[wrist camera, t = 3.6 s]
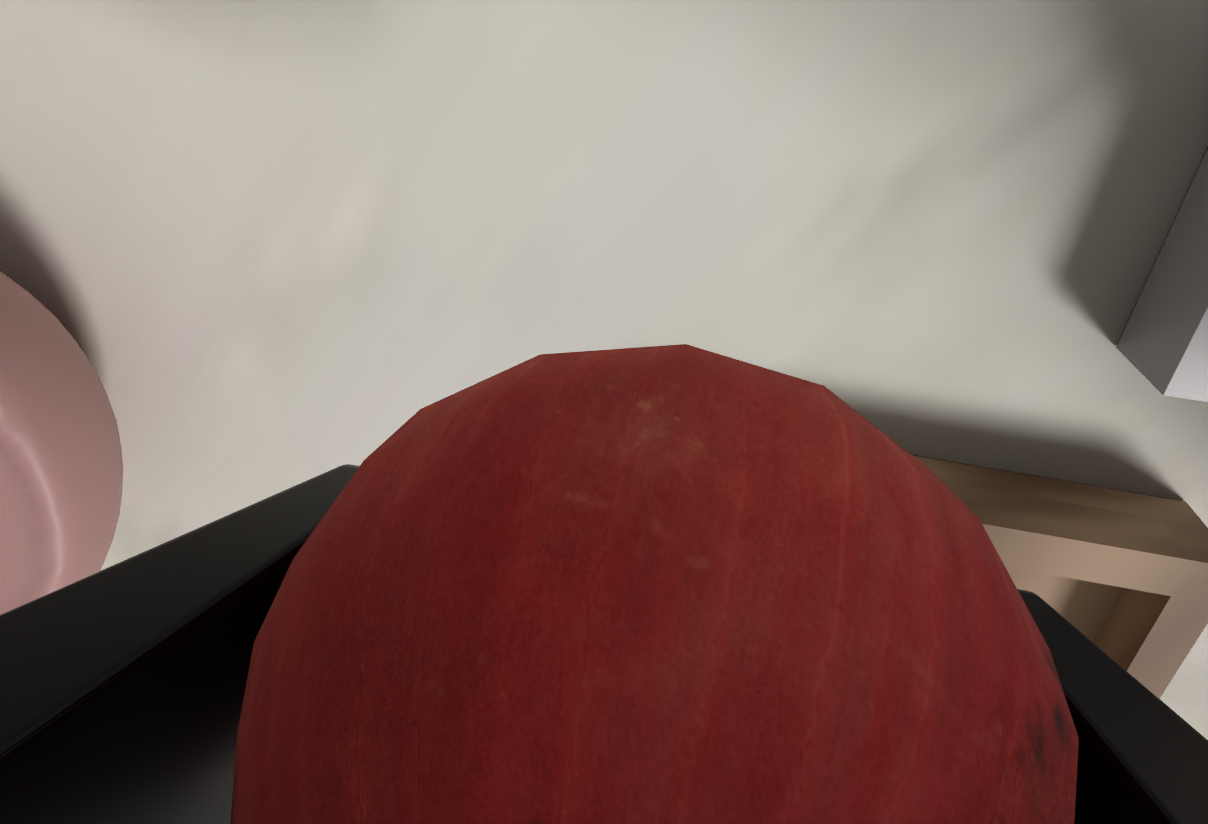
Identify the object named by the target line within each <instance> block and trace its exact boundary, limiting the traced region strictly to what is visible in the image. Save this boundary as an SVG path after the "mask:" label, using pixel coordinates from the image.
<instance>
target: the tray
mask: <svg viewBox="0 0 1208 824" xmlns="http://www.w3.org/2000/svg"><path fill="white" fill-rule="evenodd" d="M912 456H913V455H912ZM913 457H915V458H916V459H917V460H918V461H920V462H921V463H922V464H924V465H925V466H926V467H927V468H929V469H930V470H931V471H932V472H933V473H934V474H935V475H936V476H937V477H938V478H939V479H940V480H941V481H942V482H943V483H944V484H945V485H946V486H947V487H948V488H949V489H950V490H951V491H952V492H953V493H954V494H955V495H956V496H957V497H958V498H959V499H960V500H961V501H962V502H963V503H964V504H965V505H966V506H967V507H968V508H969V509H970V510H971V511H972V512H973V513H974V514H975V515H976V516H977V517H978V518H979V519H980V521H981V523H982V525H983V527H984V528H985V530H986V532H987V534H988V536H989V538H990V540H991V541H992V543H993V545H994V547H995V549H996V551H997V553H998V554H999V556H1000V558H1001V560H1002V562H1003V564H1004V566H1005V567H1006V569H1007V571H1008V573H1009V575H1010V577H1011V579H1012V580H1013V582H1014V584H1015V586H1016V588H1017V589H1022V590H1027V591H1031V592H1033V593H1035V594H1037V595H1038V596H1039V597H1041V598H1042V599H1043V600H1044V601H1045V602H1046V603H1048V604H1049V605H1050V606H1051V607H1052V608H1053V609H1055V610H1056V611H1057V612H1058V613H1059V614H1060V615H1062V616H1063V617H1064V618H1065V619H1066V620H1067V621H1069V622H1070V623H1071V624H1072V625H1073V626H1074V627H1076V628H1077V629H1078V630H1079V631H1080V632H1081V633H1083V634H1084V635H1085V636H1086V637H1087V638H1089V639H1090V640H1091V641H1092V642H1093V643H1094V644H1096V645H1097V646H1098V647H1099V648H1100V649H1101V650H1103V651H1104V652H1105V653H1106V654H1107V655H1108V656H1110V657H1111V658H1112V659H1113V660H1114V661H1115V662H1117V663H1118V664H1119V665H1120V666H1121V667H1122V668H1124V669H1125V670H1126V671H1127V672H1128V673H1129V674H1131V675H1132V676H1133V677H1134V678H1135V679H1137V680H1138V681H1139V682H1140V683H1141V684H1142V685H1144V686H1145V687H1146V688H1147V689H1148V690H1149V691H1151V692H1152V693H1153V694H1154V695H1155V696H1156V697H1158V698H1159V699H1160V697H1161V695H1162V694H1163V692H1164V691H1165V689H1166V688H1167V686H1168V684H1169V683H1170V681H1171V680H1172V678H1173V677H1174V675H1175V673H1176V672H1177V670H1178V669H1179V667H1180V666H1181V664H1182V662H1183V661H1184V659H1185V658H1186V656H1187V655H1188V653H1189V651H1190V650H1191V648H1192V647H1193V645H1194V644H1195V642H1196V640H1197V639H1198V637H1199V636H1200V634H1201V632H1202V631H1203V629H1204V628H1205V626H1206V625H1207V623H1208V528H1207V527H1206V525H1205V524H1204V523H1203V522H1202V521H1201V519H1200V518H1199V517H1198V516H1197V515H1196V513H1195V512H1194V511H1193V510H1192V509H1191V507H1190V506H1189V505H1188V504H1187V503H1186V502H1185V501H1179V500H1173V499H1167V498H1161V497H1155V496H1149V495H1144V494H1138V493H1132V492H1126V491H1120V490H1114V489H1108V488H1102V487H1096V486H1090V485H1084V484H1079V483H1073V482H1067V481H1061V480H1055V479H1049V478H1043V477H1037V476H1031V475H1025V474H1020V473H1014V472H1008V471H1002V470H996V469H990V468H984V467H978V466H972V465H966V464H960V463H955V462H949V461H943V460H937V459H931V458H925V457H919V456H913Z"/></svg>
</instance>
